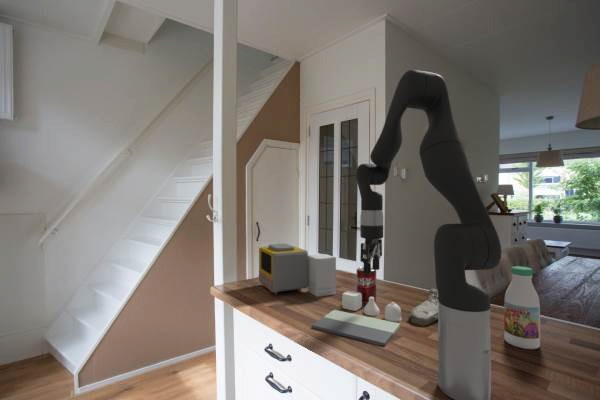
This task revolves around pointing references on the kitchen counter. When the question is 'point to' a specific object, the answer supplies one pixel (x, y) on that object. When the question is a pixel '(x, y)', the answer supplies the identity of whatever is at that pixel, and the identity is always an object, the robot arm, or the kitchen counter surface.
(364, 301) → the soda can
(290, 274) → the grey yellow box
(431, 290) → the elongated rock
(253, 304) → the kitchen counter surface
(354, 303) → the container set
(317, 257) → the supplement box
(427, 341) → the kitchen counter surface
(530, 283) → the milk bottle
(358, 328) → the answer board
